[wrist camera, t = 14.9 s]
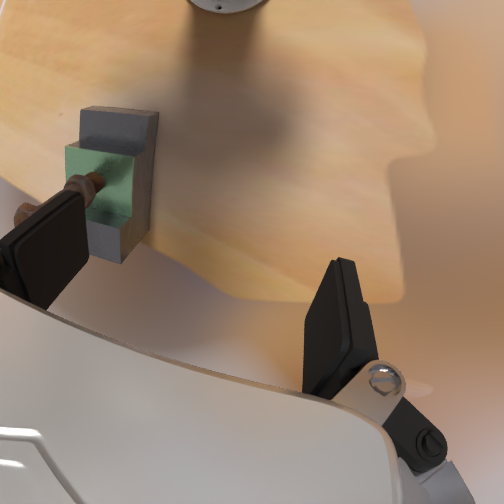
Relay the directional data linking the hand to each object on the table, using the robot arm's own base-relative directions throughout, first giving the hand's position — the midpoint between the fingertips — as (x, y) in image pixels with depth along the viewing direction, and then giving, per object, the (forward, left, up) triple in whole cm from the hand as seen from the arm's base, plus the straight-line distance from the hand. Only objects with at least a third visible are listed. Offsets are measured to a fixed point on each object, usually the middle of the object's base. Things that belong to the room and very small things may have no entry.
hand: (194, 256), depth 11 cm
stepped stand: (+12, -22, -33) cm, 42 cm away
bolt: (+11, -22, -26) cm, 36 cm away
